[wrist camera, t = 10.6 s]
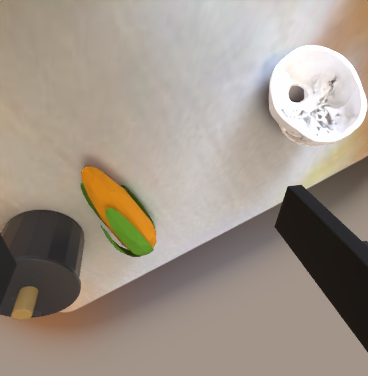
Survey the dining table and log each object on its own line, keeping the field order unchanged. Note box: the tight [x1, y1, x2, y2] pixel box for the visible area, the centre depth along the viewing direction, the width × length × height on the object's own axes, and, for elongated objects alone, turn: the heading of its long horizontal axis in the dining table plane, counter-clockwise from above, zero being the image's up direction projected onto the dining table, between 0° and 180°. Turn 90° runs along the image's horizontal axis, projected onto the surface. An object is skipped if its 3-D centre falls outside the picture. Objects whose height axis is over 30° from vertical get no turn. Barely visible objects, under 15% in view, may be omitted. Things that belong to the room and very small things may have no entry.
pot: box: [1, 210, 84, 277], centre depth 40 cm, size 13×13×10 cm
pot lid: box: [0, 256, 81, 320], centre depth 35 cm, size 14×14×5 cm
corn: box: [81, 166, 156, 257], centre depth 40 cm, size 7×8×20 cm
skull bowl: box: [269, 45, 367, 146], centre depth 37 cm, size 10×14×12 cm
